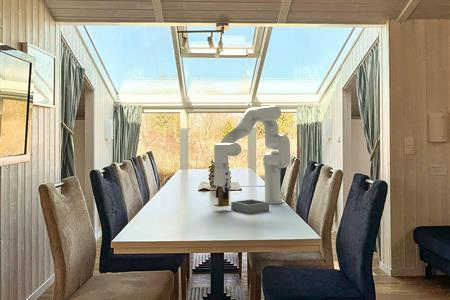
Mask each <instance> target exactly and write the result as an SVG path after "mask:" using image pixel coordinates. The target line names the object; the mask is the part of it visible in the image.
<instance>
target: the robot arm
mask: <svg viewBox="0 0 450 300" xmlns="http://www.w3.org/2000/svg"><path fill="white" fill-rule="evenodd" d="M281 116H282V111H281V108H280V106H278V105H269V106H267V105H266V106H265V105H264V106H260V107H259V106H258V107H250V108H247V109H246V111H245V112H244V113H243V116H242V117H241V119H240V120H239V122H238V123H237V125H236V126H235V127H234V128H232V129H231V130H230V131H229V132H228V133H226V134H225V135H224V137H223V138H222V139H221V141H220V143H215V144H214V146H213V151H214V153H213V155H214V160H213V161H214V172H213V183H212V184H213V187H214V189H215V190H214V191H215V198H216V199H218V189H219V188H218V187H219V186H220V187H223V191H224V192H223V199H228V192H229V193H230V189H231V187H232V185H231V173H230V168H229V157H238V156H239V155H240V154H241V153H242V146H241V145H240V144H239V143H238V142H237V141H238V140H240V139H243V138H245V137H247V136H249V135H250V133H251V132H252V130H253V128H254V127H255V125H256V123H262V125H263V126H264V127H263V128H264V142H265V148H266V149H268V150H277V151H268V152H266V153H264V155H263V158H262V160H263V161H262V163H263V167H264V199H263V200H261V201H263V202H269V205H278V204H282V203H284V201H283V200H282V199H286V197H287V195H285V194H284V195H282V194H281V172H280V170H279V168H280V169H281V168H282V169H286V168H287V167H289V166H290V163H291V142H290V138H289V137H288V136H287V134H284V133H283V134H282V133H280V132H279V125H278V124H279V123H278V121H277V120H278V119H280V118H281ZM236 142H237V143H236ZM225 185H226V186H225ZM225 188H226V189H225Z"/></svg>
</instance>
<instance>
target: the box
mask: <svg viewBox="0 0 450 300" xmlns="http://www.w3.org/2000/svg"><path fill="white" fill-rule="evenodd" d="M230 205H231V206H230V210H231V211H236V212H240V213H243V214H255V213H264V212H269V211H270V204H269V202H263V201H262V200H257V199H244V200H243V199H242V200H236V201H231V202H230Z"/></svg>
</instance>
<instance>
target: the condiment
mask: <svg viewBox="0 0 450 300" xmlns="http://www.w3.org/2000/svg"><path fill="white" fill-rule="evenodd" d="M225 186H226V185H225ZM218 188H219V189H218V198H217V204H213V206H214V207H218V208H223V207H229V206H230V207H231V204H230V191H229V192H228V199H223V192H224V191H223V187H220V186H219V187H218ZM225 189H226V188H225Z"/></svg>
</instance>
